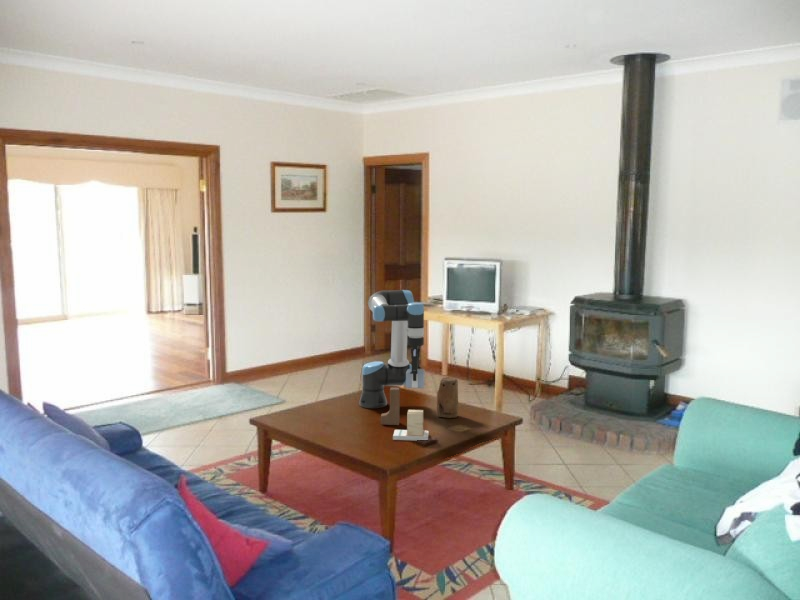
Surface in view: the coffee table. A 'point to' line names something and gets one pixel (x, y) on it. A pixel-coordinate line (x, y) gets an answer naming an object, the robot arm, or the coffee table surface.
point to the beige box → (415, 422)
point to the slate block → (420, 378)
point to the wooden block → (392, 409)
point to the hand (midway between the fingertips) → (415, 385)
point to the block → (447, 398)
